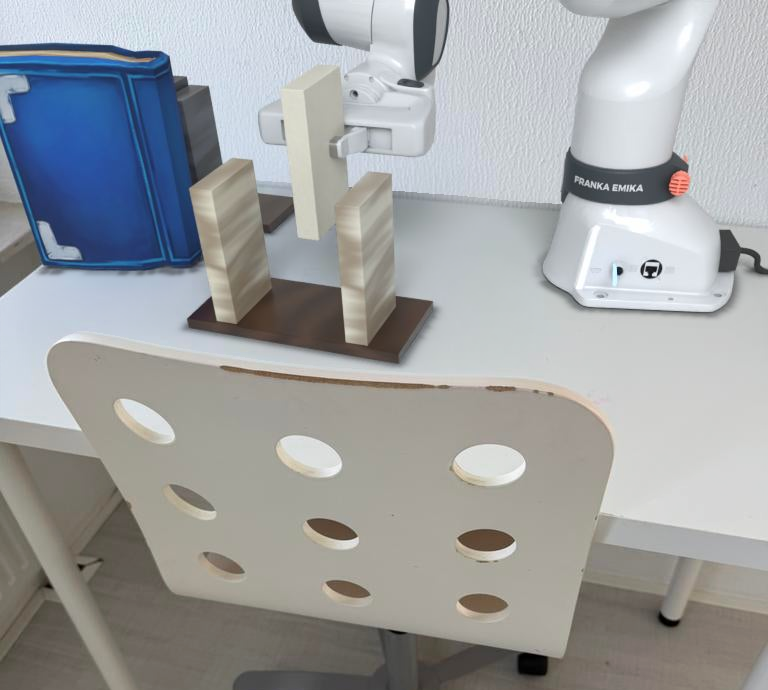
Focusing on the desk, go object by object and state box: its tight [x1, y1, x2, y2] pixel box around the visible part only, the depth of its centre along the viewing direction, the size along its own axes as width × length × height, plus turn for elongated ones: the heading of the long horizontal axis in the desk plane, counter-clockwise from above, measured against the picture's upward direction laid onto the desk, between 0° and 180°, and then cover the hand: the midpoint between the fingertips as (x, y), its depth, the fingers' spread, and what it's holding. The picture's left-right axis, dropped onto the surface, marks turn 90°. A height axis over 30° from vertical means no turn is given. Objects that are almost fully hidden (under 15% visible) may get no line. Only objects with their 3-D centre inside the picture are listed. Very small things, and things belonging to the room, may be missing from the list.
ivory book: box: [279, 64, 350, 241], centre depth 82 cm, size 3×9×15 cm, turn 159°
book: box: [0, 42, 203, 271], centre depth 94 cm, size 22×7×25 cm, turn 84°
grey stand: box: [173, 75, 295, 234], centre depth 107 cm, size 17×10×17 cm, turn 69°
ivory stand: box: [186, 157, 434, 365], centre depth 84 cm, size 26×12×16 cm, turn 69°
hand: (318, 149), depth 82 cm, fingers closed on ivory book, 2 cm apart
